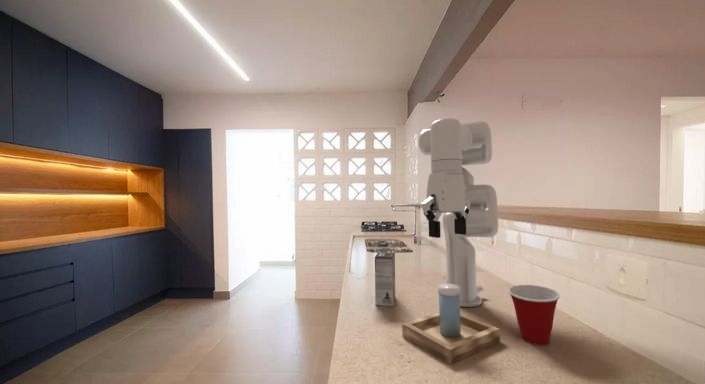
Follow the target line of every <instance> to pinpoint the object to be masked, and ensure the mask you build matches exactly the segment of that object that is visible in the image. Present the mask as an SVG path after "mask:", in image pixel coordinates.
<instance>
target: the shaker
mask: <svg viewBox="0 0 705 384" xmlns="http://www.w3.org/2000/svg"><path fill="white" fill-rule="evenodd" d="M437 290H438V311H439V323H440V334H441V335H442V336H444V337H447V338H459V337H460V336H461V320H460V313H461V306H460V287H459V286H458V285H454V284H447V283H439V284H438V289H437Z"/></svg>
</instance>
